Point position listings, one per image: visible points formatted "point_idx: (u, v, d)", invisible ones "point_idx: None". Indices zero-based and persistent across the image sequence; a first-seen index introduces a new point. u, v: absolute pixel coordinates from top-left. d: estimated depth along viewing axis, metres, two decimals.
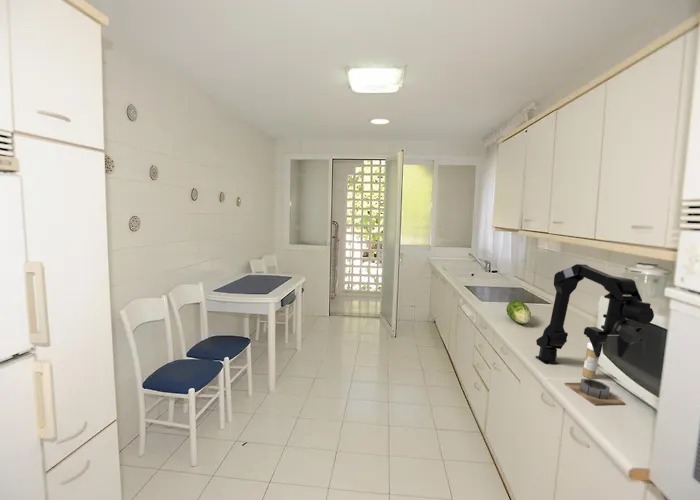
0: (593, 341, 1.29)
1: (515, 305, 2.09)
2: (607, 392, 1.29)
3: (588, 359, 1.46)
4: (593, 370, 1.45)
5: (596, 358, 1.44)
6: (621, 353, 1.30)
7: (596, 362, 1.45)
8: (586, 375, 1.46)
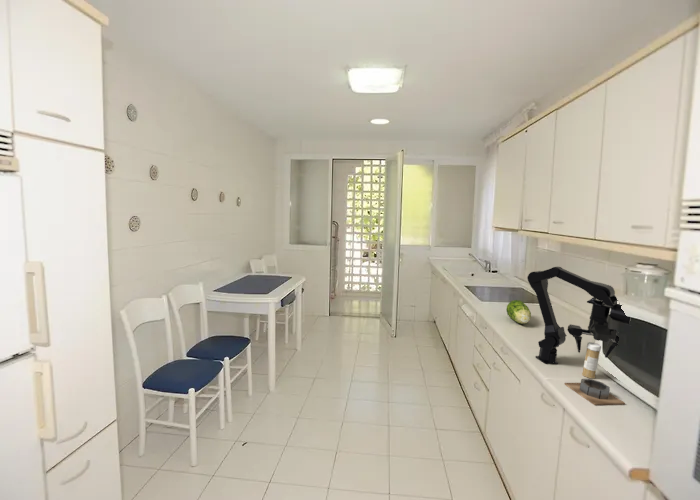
0: (576, 338, 1.49)
1: (515, 305, 2.09)
2: (607, 392, 1.29)
3: (588, 359, 1.46)
4: (593, 370, 1.45)
5: (596, 358, 1.44)
6: (606, 353, 1.44)
7: (596, 362, 1.45)
8: (586, 375, 1.46)
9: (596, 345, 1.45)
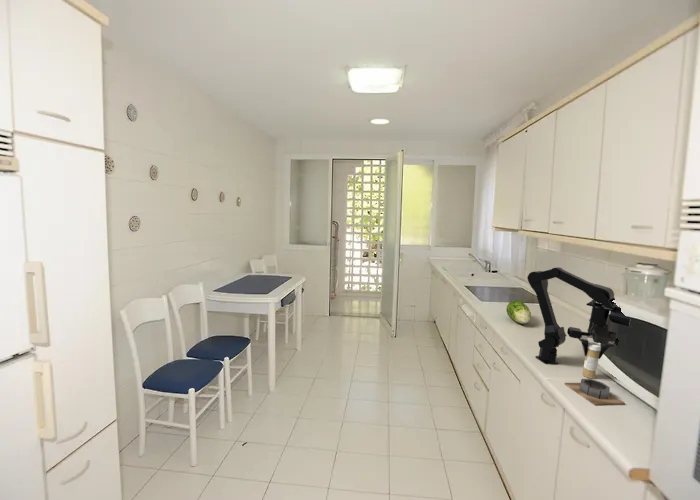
0: (582, 341, 1.48)
1: (515, 305, 2.09)
2: (607, 392, 1.29)
3: (588, 359, 1.46)
4: (593, 370, 1.45)
5: (596, 358, 1.44)
6: (599, 355, 1.45)
7: (596, 362, 1.45)
8: (586, 375, 1.46)
9: (596, 345, 1.45)
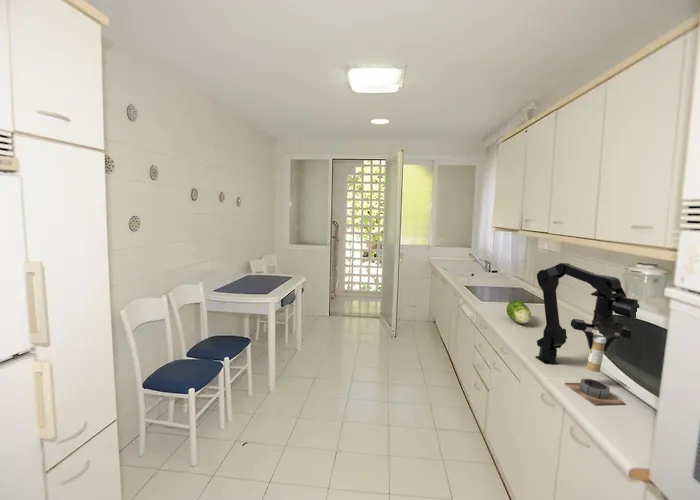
0: (586, 334, 1.42)
1: (515, 305, 2.09)
2: (607, 392, 1.29)
3: (593, 352, 1.39)
4: (598, 363, 1.39)
5: (601, 351, 1.38)
6: (604, 347, 1.39)
7: (601, 355, 1.39)
8: (591, 369, 1.40)
9: (601, 337, 1.39)
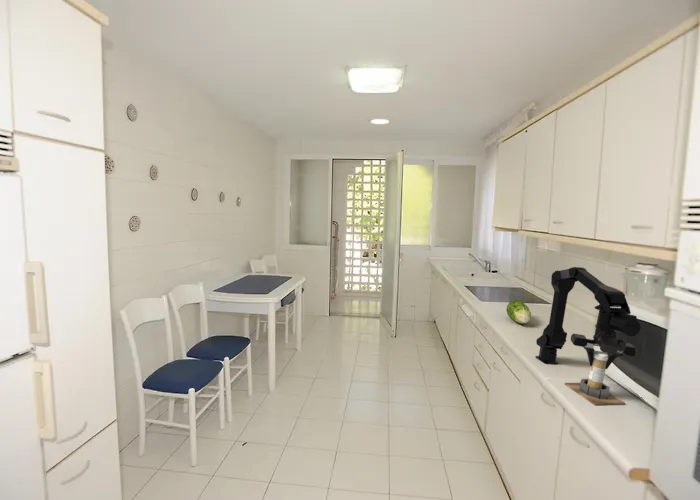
0: (587, 350, 1.33)
1: (515, 305, 2.09)
2: (607, 392, 1.29)
3: (594, 370, 1.31)
4: (599, 382, 1.30)
5: (603, 368, 1.30)
6: (606, 365, 1.30)
7: (603, 373, 1.30)
8: None
9: (603, 354, 1.30)
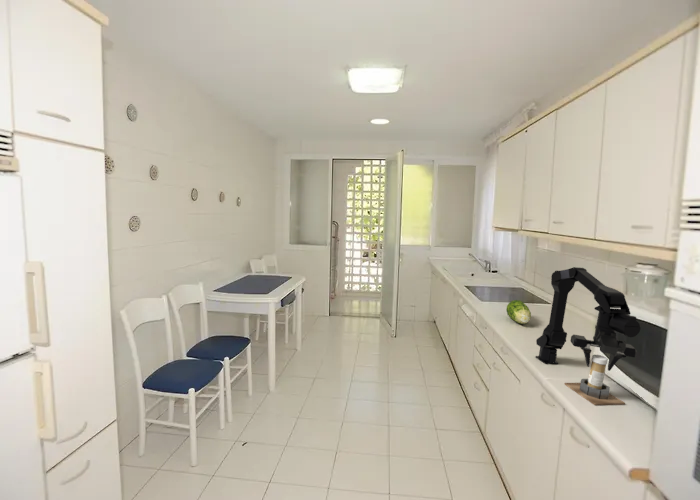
0: (584, 350, 1.34)
1: (515, 305, 2.09)
2: (607, 392, 1.29)
3: (593, 374, 1.31)
4: (599, 386, 1.31)
5: (602, 372, 1.30)
6: (609, 366, 1.30)
7: (602, 377, 1.30)
8: None
9: (602, 358, 1.30)
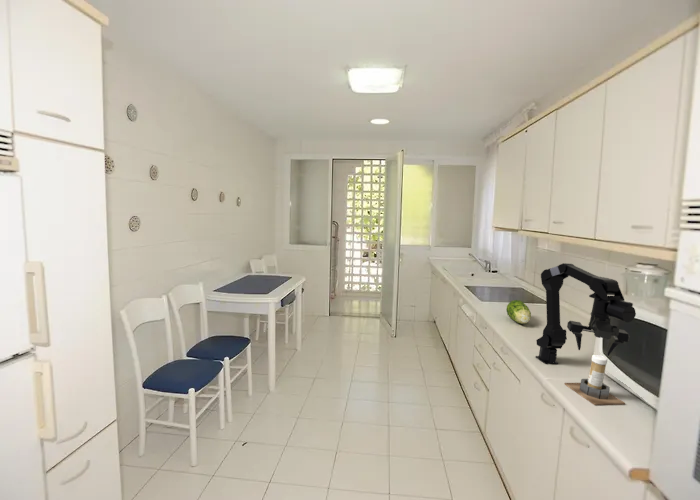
0: (576, 335, 1.41)
1: (515, 305, 2.09)
2: (607, 392, 1.29)
3: (593, 374, 1.31)
4: (599, 386, 1.31)
5: (602, 372, 1.30)
6: (608, 352, 1.36)
7: (602, 377, 1.30)
8: None
9: (602, 358, 1.30)
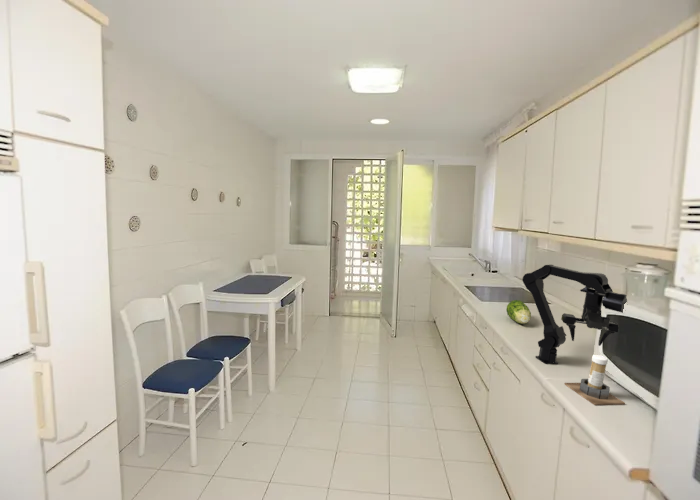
0: (569, 326, 1.50)
1: (515, 305, 2.09)
2: (607, 392, 1.29)
3: (593, 374, 1.31)
4: (599, 386, 1.31)
5: (602, 372, 1.30)
6: (599, 342, 1.45)
7: (602, 377, 1.30)
8: None
9: (602, 358, 1.30)
